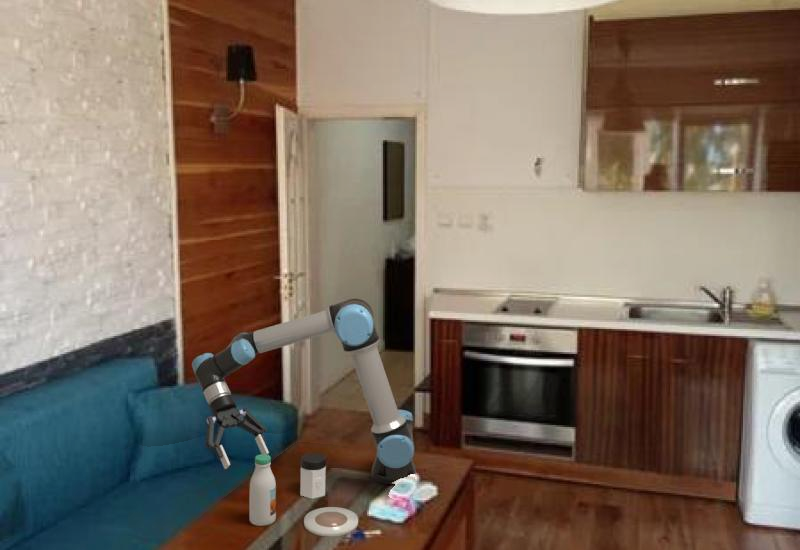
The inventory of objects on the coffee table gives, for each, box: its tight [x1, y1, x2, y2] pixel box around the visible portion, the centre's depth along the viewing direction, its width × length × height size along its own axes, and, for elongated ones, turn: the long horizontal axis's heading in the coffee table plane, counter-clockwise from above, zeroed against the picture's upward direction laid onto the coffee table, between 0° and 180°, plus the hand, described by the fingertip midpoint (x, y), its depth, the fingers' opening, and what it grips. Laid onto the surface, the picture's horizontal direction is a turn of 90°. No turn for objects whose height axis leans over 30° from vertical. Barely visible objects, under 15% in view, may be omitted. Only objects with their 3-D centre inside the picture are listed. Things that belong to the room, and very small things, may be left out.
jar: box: [299, 452, 327, 500], centre depth 246 cm, size 9×8×12 cm
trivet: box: [303, 506, 359, 538], centre depth 227 cm, size 16×16×1 cm
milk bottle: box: [248, 453, 277, 527], centre depth 226 cm, size 8×8×20 cm
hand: (247, 461), depth 229 cm, fingers open, 13 cm apart
